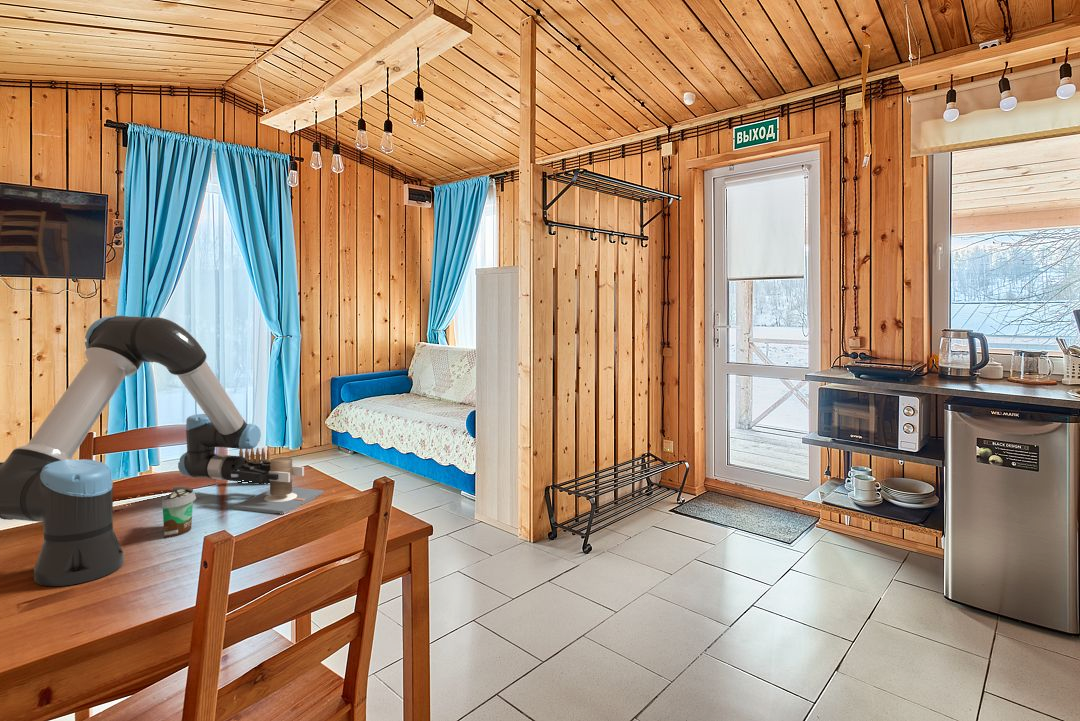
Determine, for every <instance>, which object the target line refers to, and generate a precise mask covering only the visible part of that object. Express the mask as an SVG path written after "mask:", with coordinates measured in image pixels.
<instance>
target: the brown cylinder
mask: <svg viewBox="0 0 1080 721" xmlns="http://www.w3.org/2000/svg"><path fill="white" fill-rule="evenodd" d="M292 466H293V458H291V457H287V456H286V457H285V456H283V457H282V456H281V457H280V456H279V457H274V458H271V460H270V471H278V472H288V473H290V482H279V481H270V484H269V490H270V494H271V495H275V496H281V495H287V494H290V493H291V492H292V487H293V475H292Z"/></svg>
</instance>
